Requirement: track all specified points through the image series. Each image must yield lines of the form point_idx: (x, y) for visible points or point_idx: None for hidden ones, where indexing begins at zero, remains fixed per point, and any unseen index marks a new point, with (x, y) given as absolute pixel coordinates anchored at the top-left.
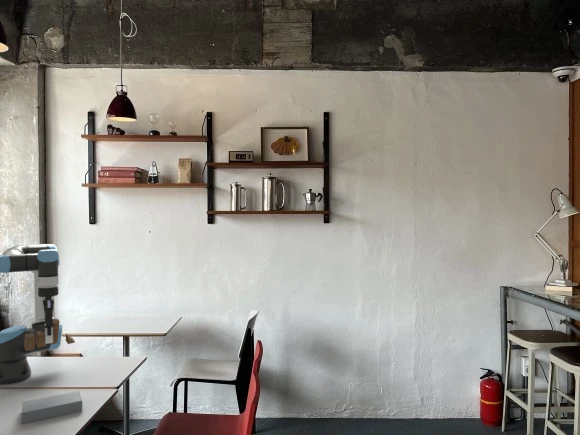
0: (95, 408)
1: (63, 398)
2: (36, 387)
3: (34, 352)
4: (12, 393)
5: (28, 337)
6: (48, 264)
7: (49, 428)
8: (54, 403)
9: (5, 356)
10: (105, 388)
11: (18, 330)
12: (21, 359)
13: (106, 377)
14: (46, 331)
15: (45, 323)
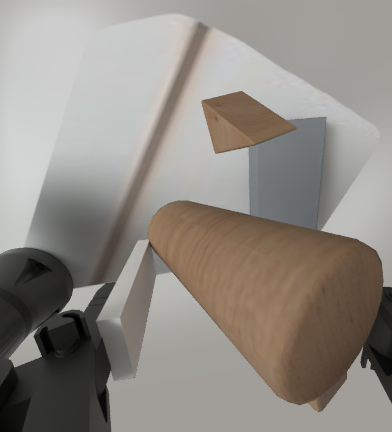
0: (313, 91)
1: (288, 160)
2: (119, 225)
3: None
4: None
5: (344, 377)
6: None
7: (349, 181)
8: (306, 179)
9: (15, 345)
10: (198, 53)
11: None
12: (8, 296)
13: (105, 40)
14: None
15: (119, 374)
